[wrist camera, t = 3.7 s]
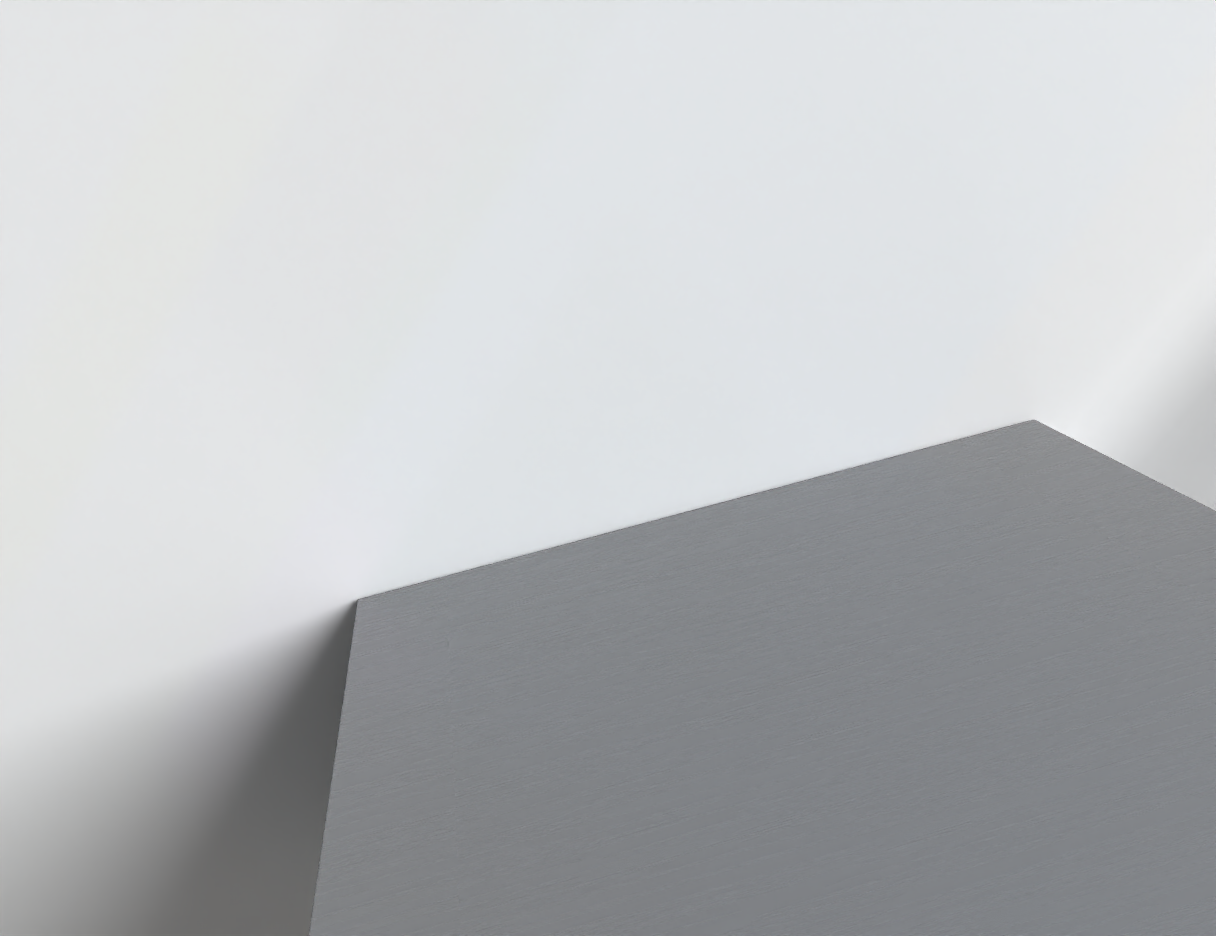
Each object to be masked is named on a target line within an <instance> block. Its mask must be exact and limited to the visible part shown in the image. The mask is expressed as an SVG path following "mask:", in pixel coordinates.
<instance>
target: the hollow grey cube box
mask: <svg viewBox="0 0 1216 936" xmlns="http://www.w3.org/2000/svg"><path fill="white" fill-rule="evenodd" d="M309 936H1216V511H1215V510H1213V509H1211V508H1209V507H1207V506H1205V505H1203V504H1201V503H1199V502H1197V501H1195V500H1193V499H1191V498H1189V497H1187V496H1185V495H1183V494H1181V493H1179V492H1177V491H1175V490H1173V489H1171V488H1169V487H1167V486H1165V485H1163V484H1161V483H1159V482H1157V481H1155V480H1153V479H1151V478H1149V477H1147V476H1145V475H1143V474H1141V473H1139V472H1137V471H1135V470H1133V469H1131V468H1129V467H1127V466H1125V465H1123V464H1121V463H1120V462H1118V461H1116V460H1114V459H1112V458H1110V457H1108V456H1106V455H1104V454H1102V453H1100V452H1098V451H1096V450H1094V449H1092V448H1090V447H1088V446H1086V445H1084V444H1082V443H1080V442H1078V441H1076V440H1074V439H1072V438H1070V437H1068V436H1066V435H1064V434H1062V433H1060V432H1058V431H1056V430H1054V429H1052V428H1050V427H1048V426H1046V425H1044V424H1042V423H1040V422H1038V421H1036V420H1030V421H1027V422H1023V423H1019V424H1015V425H1012V426H1008V427H1004V428H1000V429H997V430H993V431H989V432H985V433H982V434H978V435H974V436H970V437H967V438H963V439H959V440H955V441H952V442H948V443H944V444H940V445H937V446H933V447H929V448H925V449H921V450H918V451H914V452H910V453H906V454H903V455H899V456H895V457H891V458H888V459H884V460H880V461H876V462H873V463H869V464H865V465H861V466H858V467H854V468H850V469H846V470H843V471H839V472H835V473H831V474H828V475H824V476H820V477H816V478H813V479H809V480H805V481H801V482H798V483H794V484H790V485H786V486H783V487H779V488H775V489H771V490H768V491H764V492H760V493H756V494H753V495H749V496H745V497H741V498H737V499H734V500H730V501H726V502H722V503H719V504H715V505H711V506H707V507H704V508H700V509H696V510H692V511H689V512H685V513H681V514H677V515H674V516H670V517H666V518H662V519H659V520H655V521H651V522H647V523H644V524H640V525H636V526H632V527H629V528H625V529H621V530H617V531H614V532H610V533H606V534H602V535H599V536H595V537H591V538H587V539H584V540H580V541H576V542H572V543H569V544H565V545H561V546H557V547H554V548H550V549H546V550H542V551H538V552H535V553H531V554H527V555H523V556H520V557H516V558H512V559H508V560H505V561H501V562H497V563H493V564H490V565H486V566H482V567H478V568H475V569H471V570H467V571H463V572H460V573H456V574H452V575H448V576H445V577H441V578H437V579H433V580H430V581H426V582H422V583H418V584H415V585H411V586H407V587H403V588H400V589H396V590H392V591H388V592H385V593H381V594H377V595H373V596H370V597H366V598H362V599H358V603H357V610H356V617H355V624H354V630H353V637H352V644H351V651H350V658H349V665H348V672H347V678H346V685H345V692H344V699H343V706H342V713H341V720H340V726H339V733H338V740H337V747H336V754H335V761H334V767H333V774H332V781H331V788H330V795H329V802H328V809H327V815H326V822H325V829H324V836H323V843H322V850H321V857H320V863H319V870H318V877H317V884H316V891H315V898H314V905H313V911H312V918H311V925H310V932H309Z"/></svg>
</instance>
